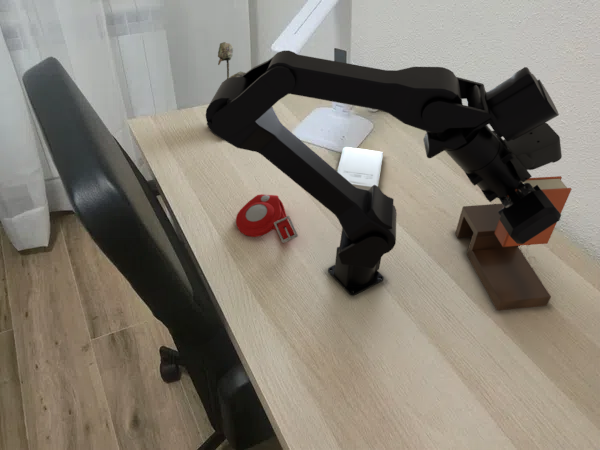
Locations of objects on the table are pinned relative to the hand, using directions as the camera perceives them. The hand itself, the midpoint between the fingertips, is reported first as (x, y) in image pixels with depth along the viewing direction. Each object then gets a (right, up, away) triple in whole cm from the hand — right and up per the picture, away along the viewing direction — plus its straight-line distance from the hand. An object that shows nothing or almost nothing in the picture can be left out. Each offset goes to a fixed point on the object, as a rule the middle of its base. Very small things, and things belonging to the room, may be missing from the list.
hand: (532, 214), depth 79 cm
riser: (-1, -8, +11) cm, 14 cm away
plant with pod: (-48, +20, +42) cm, 66 cm away
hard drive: (-22, +9, +30) cm, 38 cm away
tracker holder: (-39, -2, +16) cm, 42 cm away
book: (-1, -4, +3) cm, 5 cm away
